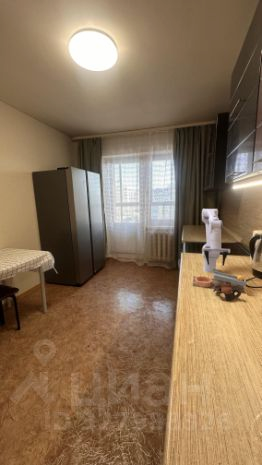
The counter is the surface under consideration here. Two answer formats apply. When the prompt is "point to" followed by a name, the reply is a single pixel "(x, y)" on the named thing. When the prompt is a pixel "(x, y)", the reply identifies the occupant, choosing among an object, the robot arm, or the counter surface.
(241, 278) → the ball
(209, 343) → the counter surface
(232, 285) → the base
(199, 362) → the counter surface
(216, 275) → the lever
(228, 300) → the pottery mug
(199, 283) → the orange bowl
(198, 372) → the counter surface
